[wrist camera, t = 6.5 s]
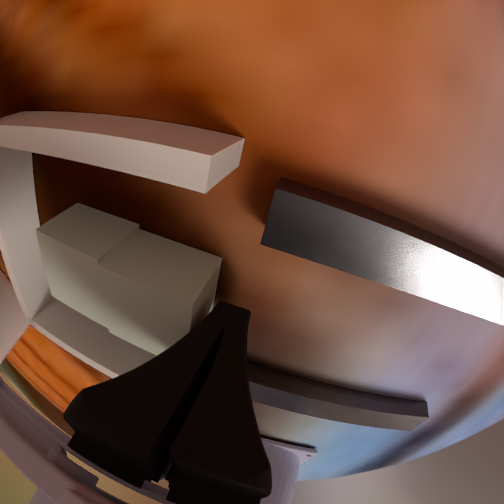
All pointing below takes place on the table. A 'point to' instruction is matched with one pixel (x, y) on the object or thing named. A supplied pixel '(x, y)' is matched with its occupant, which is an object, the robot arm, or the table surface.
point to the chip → (80, 255)
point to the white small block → (156, 290)
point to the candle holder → (10, 317)
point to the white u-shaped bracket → (107, 156)
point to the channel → (376, 269)
